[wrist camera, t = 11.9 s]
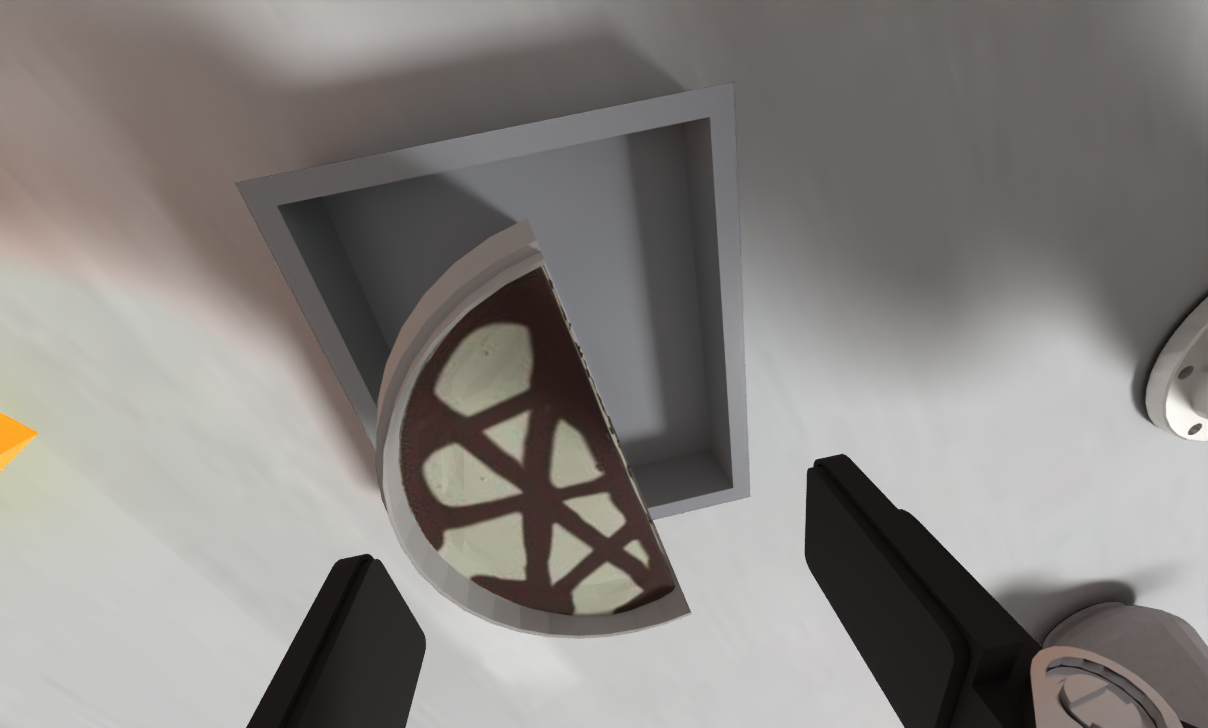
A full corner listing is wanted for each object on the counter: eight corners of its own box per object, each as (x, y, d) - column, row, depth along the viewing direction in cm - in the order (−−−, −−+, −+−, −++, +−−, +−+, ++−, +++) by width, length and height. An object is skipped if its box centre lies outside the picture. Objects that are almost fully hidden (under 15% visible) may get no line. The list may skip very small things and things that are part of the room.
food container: (363, 255, 17) (200, 364, 8) (517, 194, 17) (532, 230, 8) (505, 487, 22) (506, 708, 13) (619, 439, 22) (696, 624, 13)
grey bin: (692, 95, 17) (733, 81, 13) (719, 446, 25) (750, 496, 21) (300, 175, 16) (234, 182, 13) (453, 508, 24) (438, 571, 21)
